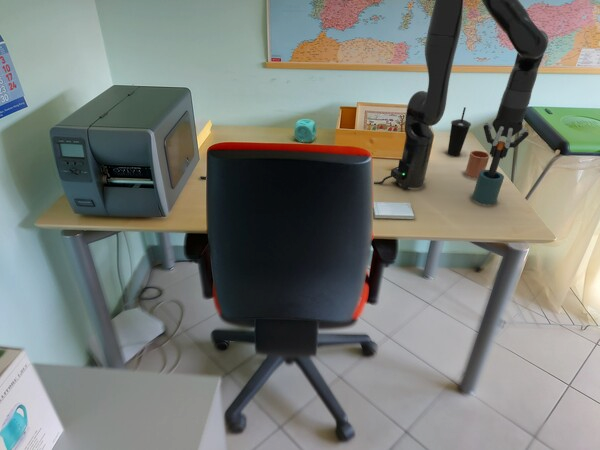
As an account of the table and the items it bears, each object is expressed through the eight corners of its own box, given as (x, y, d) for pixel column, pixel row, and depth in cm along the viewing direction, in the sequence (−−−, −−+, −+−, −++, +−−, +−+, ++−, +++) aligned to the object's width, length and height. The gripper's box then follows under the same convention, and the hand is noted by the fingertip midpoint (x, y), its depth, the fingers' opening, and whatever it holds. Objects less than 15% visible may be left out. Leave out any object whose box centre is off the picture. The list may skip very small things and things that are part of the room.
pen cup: (473, 181, 152) (479, 159, 147) (461, 173, 157) (466, 152, 152) (486, 178, 154) (493, 156, 149) (474, 170, 159) (480, 149, 154)
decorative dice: (315, 137, 185) (316, 120, 181) (311, 143, 179) (312, 126, 175) (299, 135, 187) (299, 118, 183) (294, 141, 181) (294, 124, 176)
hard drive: (409, 202, 135) (372, 201, 136) (414, 215, 129) (375, 214, 129) (408, 206, 136) (371, 205, 137) (413, 220, 130) (374, 218, 130)
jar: (482, 208, 136) (491, 181, 130) (467, 197, 142) (474, 171, 136) (500, 203, 138) (509, 177, 133) (484, 193, 144) (492, 168, 138)
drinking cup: (460, 150, 175) (472, 104, 163) (464, 158, 168) (477, 111, 157) (442, 149, 175) (453, 104, 164) (446, 157, 169) (457, 110, 158)
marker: (487, 186, 135) (501, 144, 127) (483, 183, 137) (496, 141, 128) (493, 185, 136) (507, 143, 127) (488, 182, 137) (501, 140, 129)
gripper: (488, 103, 121) (472, 156, 130) (539, 111, 115) (519, 166, 125) (491, 96, 126) (476, 148, 136) (540, 104, 121) (521, 157, 131)
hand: (497, 156), depth 130 cm, fingers closed on marker, 2 cm apart
